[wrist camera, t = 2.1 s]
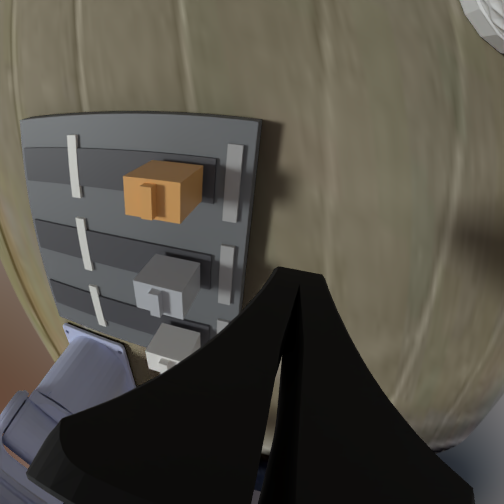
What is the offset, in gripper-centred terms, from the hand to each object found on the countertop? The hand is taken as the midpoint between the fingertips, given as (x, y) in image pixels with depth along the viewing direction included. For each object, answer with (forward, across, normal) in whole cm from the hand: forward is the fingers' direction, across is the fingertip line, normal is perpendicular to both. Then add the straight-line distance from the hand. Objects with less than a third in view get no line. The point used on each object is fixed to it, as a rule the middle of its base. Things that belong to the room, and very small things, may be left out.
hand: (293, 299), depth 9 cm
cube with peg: (+9, +7, +6) cm, 13 cm away
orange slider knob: (+9, +7, 0) cm, 11 cm away
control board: (+10, +12, +6) cm, 17 cm away
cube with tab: (+9, +7, +12) cm, 16 cm away
